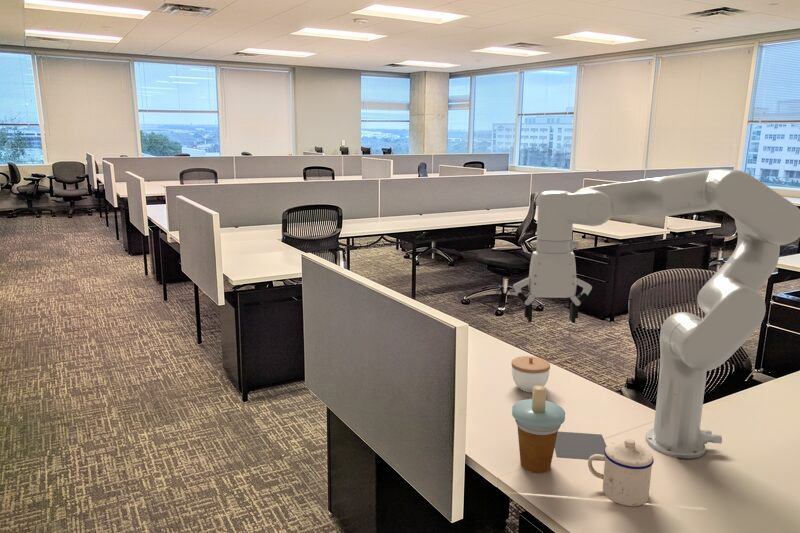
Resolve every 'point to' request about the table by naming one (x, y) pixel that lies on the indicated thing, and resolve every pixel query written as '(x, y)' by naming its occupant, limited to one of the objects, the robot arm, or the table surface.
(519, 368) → the lidded jar
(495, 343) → the table surface
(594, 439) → the mat
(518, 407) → the cover
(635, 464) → the teacup with lid
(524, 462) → the disposable coffee cup
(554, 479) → the table surface
